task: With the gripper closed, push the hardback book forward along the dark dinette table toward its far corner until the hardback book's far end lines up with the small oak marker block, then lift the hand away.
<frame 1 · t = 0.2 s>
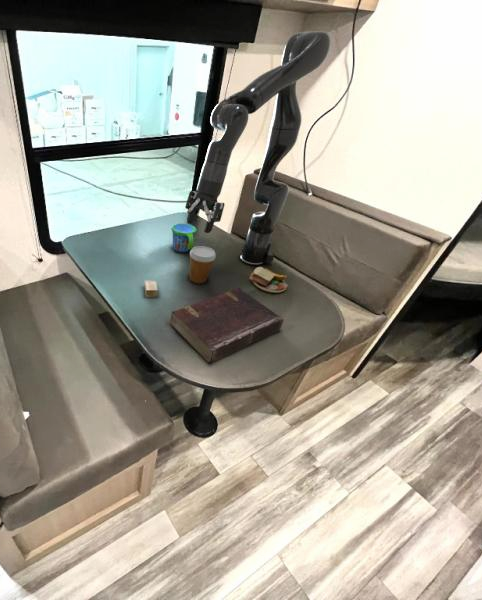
hand: (198, 227, 106), 22 cm above the table, tool pointing down, fingers open, 8 cm apart
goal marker: (150, 292, 114), on the table
disposable coffee cup: (197, 279, 122), on the table
snack cup: (180, 249, 142), on the table
toy sandwich meal: (266, 285, 120), on the table
hardback book: (224, 328, 99), on the table
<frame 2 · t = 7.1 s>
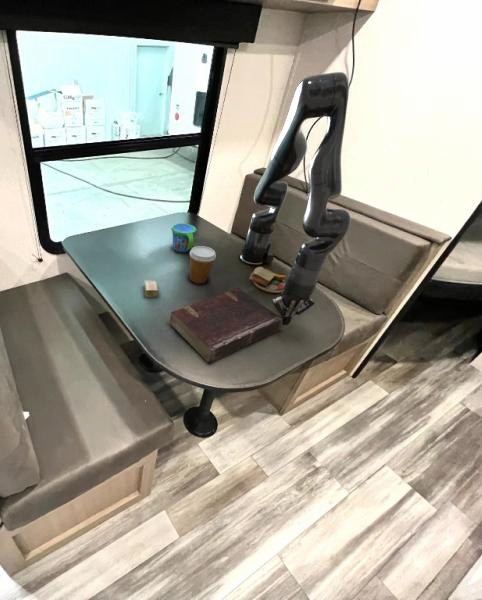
hand: (283, 323, 100), 1 cm above the table, tool pointing down, fingers closed
hardback book: (223, 328, 99), on the table, touching gripper
everything else where it was.
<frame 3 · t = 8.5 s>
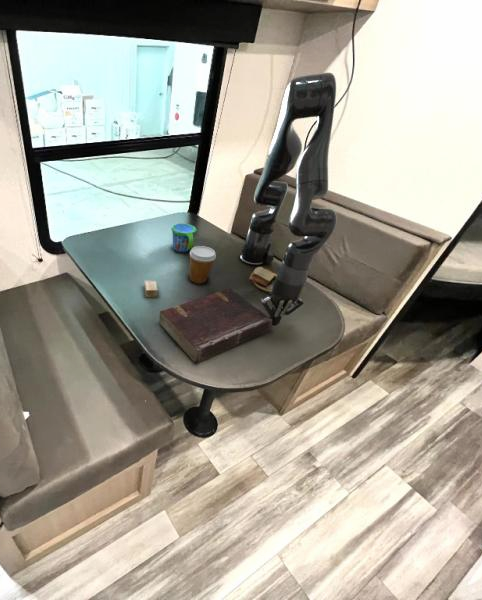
hand: (273, 323, 99), 2 cm above the table, tool pointing down, fingers closed
hardback book: (213, 328, 99), on the table, touching gripper
everything else where it was.
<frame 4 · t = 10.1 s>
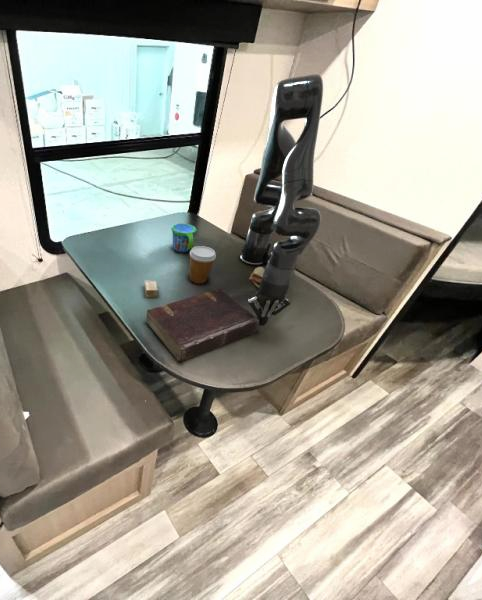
hand: (260, 324, 99), 2 cm above the table, tool pointing down, fingers closed
hardback book: (200, 327, 99), on the table, touching gripper
everything else where it was.
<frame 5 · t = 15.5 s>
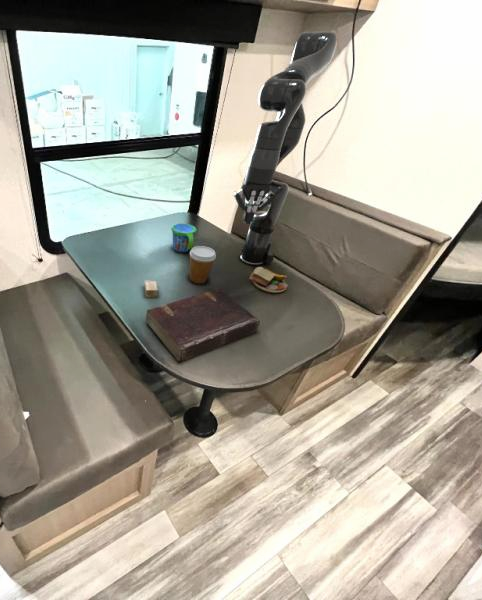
hand: (246, 222, 99), 27 cm above the table, tool pointing down, fingers closed
hardback book: (200, 327, 99), on the table
everything else where it was.
at the end: hardback book inside the target area (0.6 cm from its centre), on the table; hardback book moved 7.7 cm from its start; hardback book tilted 0° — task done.
